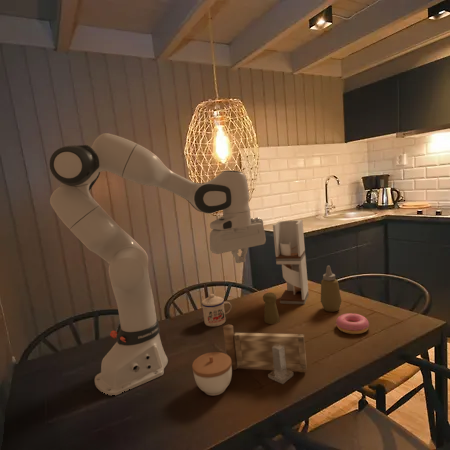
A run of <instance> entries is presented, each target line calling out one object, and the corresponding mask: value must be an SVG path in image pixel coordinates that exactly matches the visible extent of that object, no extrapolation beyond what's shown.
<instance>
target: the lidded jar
mask: <svg viewBox="0 0 450 450" xmlns="http://www.w3.org/2000/svg"><path fill="white" fill-rule="evenodd" d="M191 368H192V372H193V373H192V374H193V377H194V380H195V383H196V386H197V387H198V388H199V389H200V390H201V391H202V392H204V393H205V394H206V395H208V396H212V397H213V396H214V397H215V396H219V395H221V394H223V393H225V391H226V389H227V388H228V386H229V385H230V383H231V381H232V376H233V370H232V361H231V358H230V357H229V356H228V355H227V354H226V352H219V351H213V352H206V353H204V354H202V355H201V354H200V355H199V356H197V358H195V359H194V360H193V362H192V365H191Z"/></svg>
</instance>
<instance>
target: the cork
mask: <svg viewBox="0 0 450 450" xmlns="http://www.w3.org/2000/svg"><path fill="white" fill-rule="evenodd" d="M277 298H278V297H277V295H276V294H275V293H274V292H266V293H264V294H263V296H262V300H263V302H264V318H263V322H264V323H265V324H267V325H268V324H269V325H274V324H277V323H279V322H280V321H281V320H280V315H279V311H278V308H277V304H276V303H277Z"/></svg>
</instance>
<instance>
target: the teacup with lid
mask: <svg viewBox="0 0 450 450" xmlns="http://www.w3.org/2000/svg"><path fill="white" fill-rule="evenodd" d="M225 305H228V309H227V311H226V310H225ZM201 306H202V312H203V320H204V324H205V326H207V327H219V326H222V325H223V324H225V322H226V321H227V319H226V315H227V314H229V313H230V312H231V311H232V304H231V303H230V302H229V301H225V300H224V298H223V297H221V296H218V295H217V296H216V295H215V294H214V293H210V294H209V296H208V297H206V298H204V299H203V300H202V301H201Z"/></svg>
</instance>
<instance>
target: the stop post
mask: <svg viewBox="0 0 450 450" xmlns="http://www.w3.org/2000/svg"><path fill="white" fill-rule="evenodd" d="M272 352H273V362H274V368H273V370H272V371H270V372H269V373H268V374H267V378H269V379H271V380H273V381H275V382H277V383H279V384H281V385H284V384H285V383H286V382H287V381H288V380H290V379H291V378H292V377H294V375H295V374H294V371H292V370H291V369H286V359H285V349H284V346H283V345H280V344H278V343H277V344H276V345H274V346H273V347H272Z"/></svg>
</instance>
